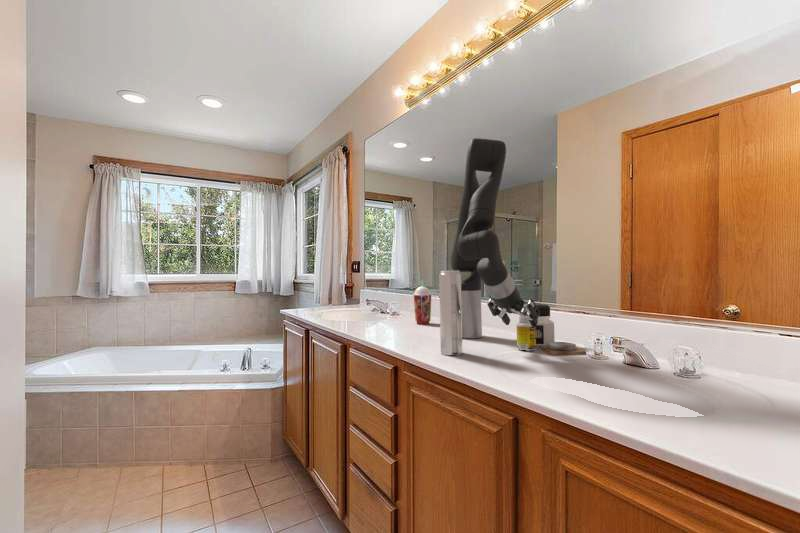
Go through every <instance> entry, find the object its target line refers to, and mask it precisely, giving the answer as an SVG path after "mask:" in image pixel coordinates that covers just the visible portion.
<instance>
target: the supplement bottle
mask: <svg viewBox="0 0 800 533" xmlns="http://www.w3.org/2000/svg"><path fill="white" fill-rule="evenodd" d="M516 348H517V350H518V349H520V350H519V351H521V350H526V351H525V352H531V351H530V350H534V351H535V350H536V349H537V346H536V327H532V326H531V324H530V322H529V319H527V318H526V317H522V316H520V315H519V316H518V322H517V323H516Z"/></svg>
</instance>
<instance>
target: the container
mask: <svg viewBox="0 0 800 533" xmlns="http://www.w3.org/2000/svg"><path fill="white" fill-rule="evenodd" d="M535 304H536V305H537V307H538V309H539V311H540V314H539V317H538V319H537V320H538V323H537V326H536V347H538V346H539V345H547V343H549V342H556V341H555V322H554V321H553V320H551V319H550V318H551V307H550V306H549V305H548V304H543V303H541V304H540V303H535ZM528 315H530V313H528Z"/></svg>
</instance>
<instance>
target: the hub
mask: <svg viewBox="0 0 800 533" xmlns="http://www.w3.org/2000/svg"><path fill="white" fill-rule="evenodd" d="M576 346H577V345H576V344H575V343H572V342H567V341H555V342H549V343H547V345H539V346H537V347H539V348H541V349H543V350H544V351H543V350H542V351H543V352H545V351H546V352H545V353H547V354H549V355H551V356H570V355H571V356H572V355H587V351H586V350H583V349H581V348H579V347H576ZM539 348H538V349H539ZM541 349H540V350H541Z"/></svg>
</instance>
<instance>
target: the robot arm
mask: <svg viewBox="0 0 800 533" xmlns="http://www.w3.org/2000/svg"><path fill="white" fill-rule="evenodd" d="M467 147H468V148H467V151H466V152H467V153H466V161H465V170H464V171H465V173H464V183H463V189H462V195H461V199H460V206H459V210H458V211H459V212H458V220H457V225H456V226H457V228H456V233H455V238H454V243H453V246H452V250H451V254H450V255H451V256H450V266H451V269H452V271H460V273H469V272H470V275H469V276H468V277H466V278H465V279H461V304H462V339H477V338H478V339H480V338H482V337H483V327H482V326H483V322H482V321H483V320H482V319H483V318H482V281H483V284H484V286H485V289H486V290H487V293H488V294H489V296H490V298H489V300H488V302H487V306H488V307H487V308H489V311H490V313H491V314H492V316H493V317H497V316H498V318H499V319H501V321H502V322H503V324H504V325H506V326H509V324H510V322H511V319H510V316H509V315H508V314H515V315H519V317H520V316H522V317H526V318H527V319H529V322H530V324H531V326H532V327H536V326H537V323H538V320H537V319H538V317H539V314H540V311H539V309H538V307H537V305H536V304H537V303H536V302H535V300H534V299H532V298H530V299H529V300H528V301H524V300H523V299H522V297H521V293H520V291H519V289H518V287H517V285H516V283H515V281H514V279H513V278H512V277H513V276H512V275H511V274H510V273H509V271H508V269H507V268H506V265H505V264H504V263H503V262H504V261H503V259H502V255H501V248H500V241H499V240H500V239H499V237H498V235H497V234H496V233H495V232H494V231H492V230H491V228H492V227H494V224H495V217H496V214H495V213H496V207H497V206H496V204H497V199H498V193H499V190H500V186H501V181H502V178H503V173H504V167H505V162H506V158H507V157H506V154H507V146H506V143H505V142H504V141H503V140H498V139H487V138H477V137H476V138H475V137H473V138H472V139H471V140H470V142H469V143H468V146H467ZM477 171H478V172H485V173H486V172H487V173H491V174H490V175H489V177H488V178H487V179H486V181H484V183H483V184H481V185H480V184H479V181H478V178H477ZM500 309H501V310H500ZM522 310H523V311H522ZM529 313H530V315H529Z"/></svg>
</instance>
